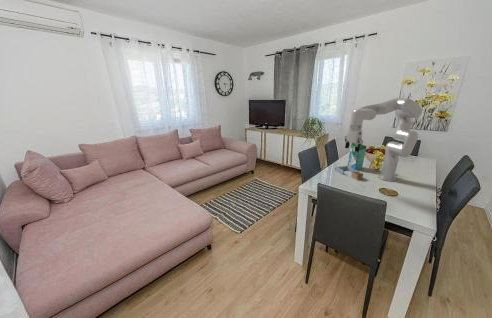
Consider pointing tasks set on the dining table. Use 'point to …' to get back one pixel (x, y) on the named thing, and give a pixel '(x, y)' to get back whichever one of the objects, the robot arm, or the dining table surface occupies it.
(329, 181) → the dining table surface
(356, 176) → the block
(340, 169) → the bay
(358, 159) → the milk carton
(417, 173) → the dining table surface
